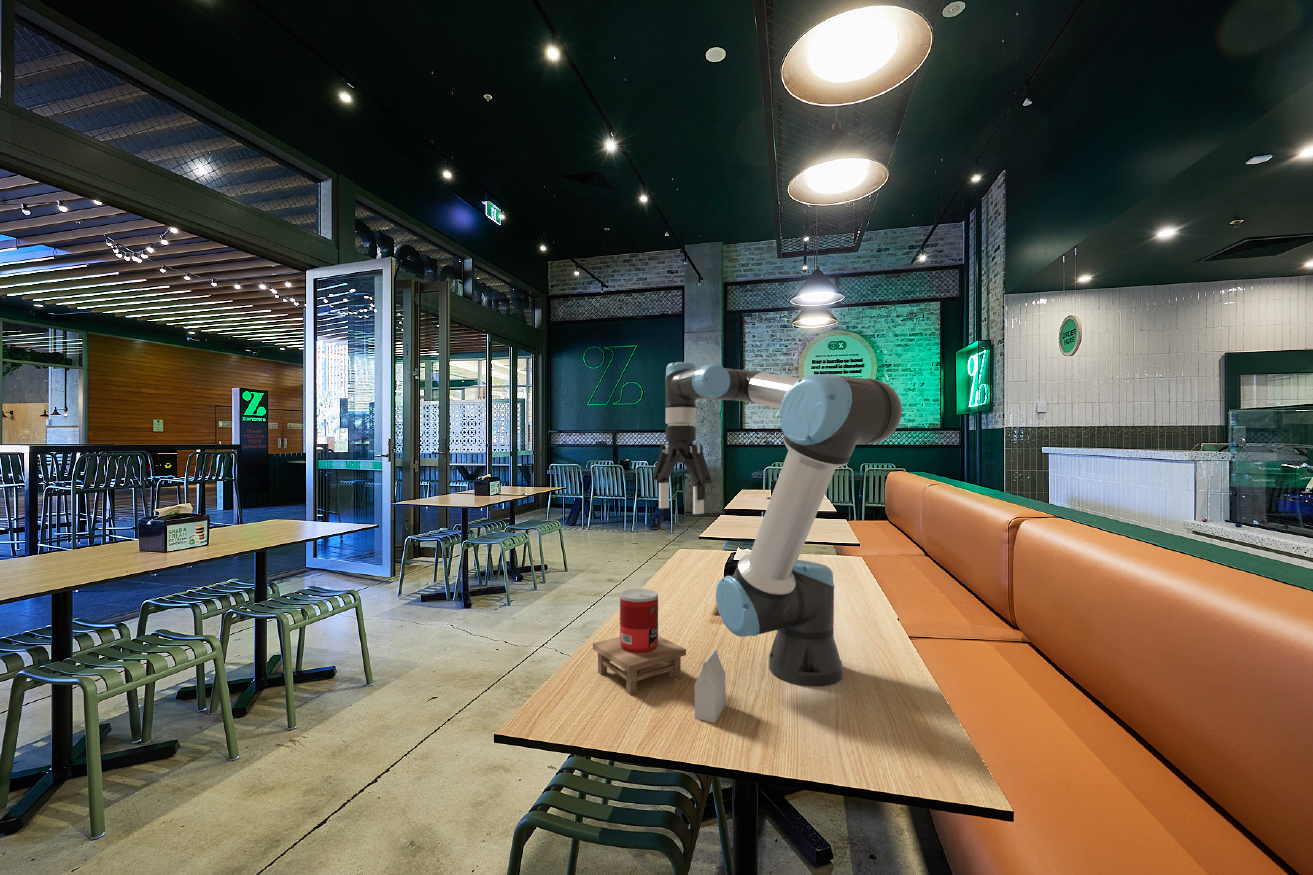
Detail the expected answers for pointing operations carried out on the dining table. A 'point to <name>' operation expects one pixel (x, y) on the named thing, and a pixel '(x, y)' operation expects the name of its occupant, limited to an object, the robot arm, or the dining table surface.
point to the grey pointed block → (710, 690)
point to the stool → (638, 660)
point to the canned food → (639, 620)
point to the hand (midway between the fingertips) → (680, 510)
